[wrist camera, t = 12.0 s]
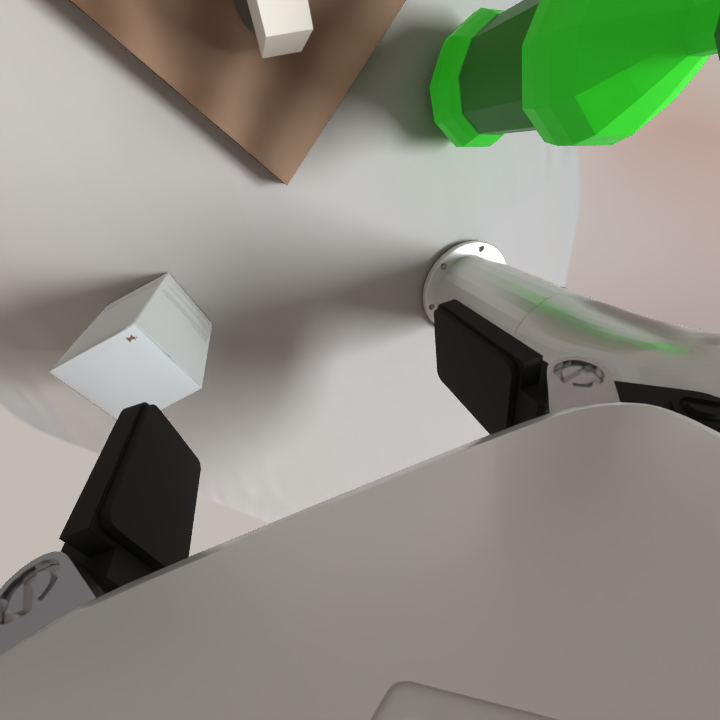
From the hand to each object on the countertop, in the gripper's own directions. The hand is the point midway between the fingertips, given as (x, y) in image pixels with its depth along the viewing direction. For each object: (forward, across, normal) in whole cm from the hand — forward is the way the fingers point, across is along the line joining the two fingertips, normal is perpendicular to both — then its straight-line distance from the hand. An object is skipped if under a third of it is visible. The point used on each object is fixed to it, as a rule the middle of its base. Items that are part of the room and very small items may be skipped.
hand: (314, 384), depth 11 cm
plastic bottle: (+28, -23, -8) cm, 37 cm away
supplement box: (+29, +14, +6) cm, 32 cm away
